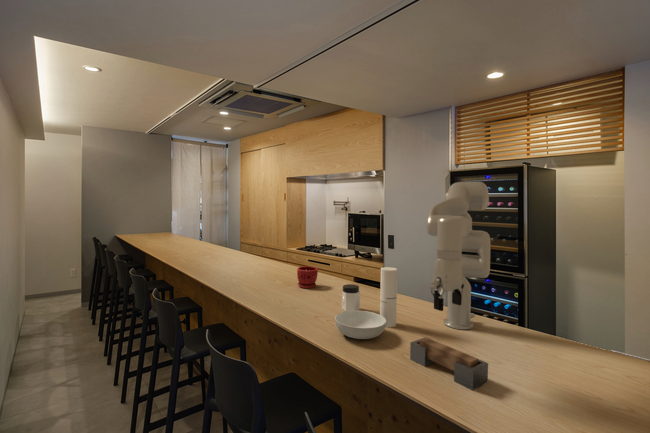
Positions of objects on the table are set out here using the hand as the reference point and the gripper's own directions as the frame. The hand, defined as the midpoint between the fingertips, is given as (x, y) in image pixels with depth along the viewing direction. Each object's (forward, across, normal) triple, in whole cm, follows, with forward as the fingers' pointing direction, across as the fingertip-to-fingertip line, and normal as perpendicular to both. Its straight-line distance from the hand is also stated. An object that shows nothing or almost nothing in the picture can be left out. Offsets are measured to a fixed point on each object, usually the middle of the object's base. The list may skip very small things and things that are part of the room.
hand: (447, 307), depth 111 cm
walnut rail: (+18, +1, +1) cm, 18 cm away
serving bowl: (+21, +5, -37) cm, 43 cm away
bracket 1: (+20, +1, -7) cm, 22 cm away
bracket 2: (+20, +1, +9) cm, 22 cm away
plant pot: (+21, -18, -115) cm, 118 cm away
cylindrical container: (+21, -13, -39) cm, 46 cm away
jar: (+21, -12, -64) cm, 68 cm away
